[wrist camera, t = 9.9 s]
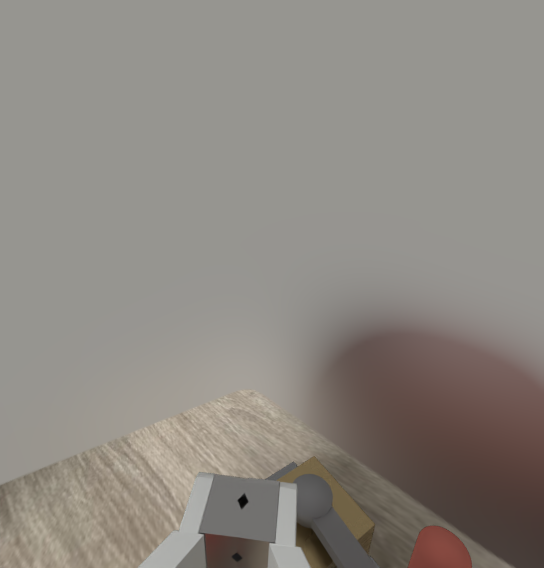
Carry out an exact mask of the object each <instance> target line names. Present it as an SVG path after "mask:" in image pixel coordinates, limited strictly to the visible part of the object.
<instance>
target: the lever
mask: <svg viewBox="0 0 544 568" xmlns="http://www.w3.org/2000/svg"><path fill="white" fill-rule="evenodd" d="M293 483H297V523H299V524H300V525H301V526H303V527H306V528H311V529H313V530H314V532H315V534H316V535H317V537H318V538H319V540H320V541H321V543H322V544H323V546H324V548H325V549H326V551H327V552H328V554H329V555H330V557H331V558H332V560H333V562H334V563H335V565H336V566H337V568H377V567H376V565H375V564H374V563H373V561H372V560H371V558H370V557H369V556H368V554H367V553H366V552H365V550H364V549H363V548H362V546H361V545H360V543H359V542H358V541H357V539H356V538H355V537H354V535H353V534H352V533H351V531H350V530H349V529H348V527H347V526H346V524H345V523H344V522H343V520H342V519H341V518H340V516H339V515H338V514H337V512H336V511H335V509H334V508H333V507H332V501H333V494H332V490H331V488H330V486H329V484H328V483H327V482H326V481H325V480H324V479H323V478H321V477H320V476H317V475H314V474H304V475H301V476H299V477H298V478H296V479H295V480H294V482H293ZM408 568H472V563H471V558H470V555H469V553H468V551H467V549H466V547H465V546H464V544H463V543H462V542H461V541H460V539H459V538H458V537H457V536H455V535H454V534H453V533H452V532H450V531H448V530H447V529H445V528H442V527H439V526H427V527H425V528H423V529H422V530H421V531H420V533H419V535H418V538H417V541H416V544H415V547H414V550H413V553H412V556H411V559H410V562H409V565H408Z"/></svg>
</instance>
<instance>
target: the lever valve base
mask: <svg viewBox="0 0 544 568" xmlns="http://www.w3.org/2000/svg"><path fill="white" fill-rule="evenodd" d="M304 474H314V475H317V476H320V477H321V478H323V479H324V480H325V481H326V482H327V483H328V484H329V486H330V488H331V490H332V494H333V501H332V507H333V508H334V509H335V511H336V512H337V514H338V515H339V516H340V518H341V519H342V520H343V522H344V523H345V524H346V526H347V527H348V529H349V530H350V531H351V533H352V534H353V535H354V537H355V538H356V539H357V541H358V542H359V543H360V545H361V546H362V548H363V549H364V550H365V552H366V553H367V554H368V552H369V548H370V543H371V539H372V535H373V531H374V527H375V524H374V523H373V521H372V520H371V519H370V518H369V517H368V516H367V515H366V514H365V512H364V511H363V510H362V509H361V508H360V507H359V506H358V505H357V504H356V502H355V501H354V500H353V499H352V498H351V497H350V496H349V495H348V493H347V492H346V491H345V490H344V489H343V488H342V487H341V486H340V484H339V483H338V482H337V481H336V480H335V479H334V478H333V477H332V475H331V474H330V473H329V472H328V471H327V470H326V469H325V468H324V466H323V465H322V464H321V463H320V462H319V461H318V460H317V459H316V458H315V456H314V457H312V458H310V459H309V460H307V461H306V462H304V463H303V464H301V465H300V466H297V465H296V464H295V463H294V462H292V463H291V464H289V465H287V466H286V467H284V468H283V469H281V470H279V471H278V472H276V473H275V474H273V475H271V476H270V477H268V478H267V479H265V480H273V481H280V482H287V483H293V482H294V480H295V479H296V478H298V477H299V476H301V475H304ZM279 487H280V485H279ZM296 546H297V547H301V548H302V550H303V552H304V554H305V556H306V559H307V561H308V563H309V565H310V567H311V568H337V566H336V565H335V563H334V562H333V560H332V558H331V557H330V555H329V554H328V552H327V551H326V549H325V548H324V546H323V544H322V543H321V541H320V540H319V538H318V537H317V535H316V534H315V532H314V530H313V529H311V528H306V527H303V526H301V525H300V524H299V523H297V522H296ZM370 558H371V560H372V561H373V563H374V564H375V565H376V567H377V568H380V567H379V566H378V564H377V563H376V562H375V561H374V559H373V558H372V557H371V556H370Z"/></svg>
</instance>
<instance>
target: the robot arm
mask: <svg viewBox="0 0 544 568" xmlns="http://www.w3.org/2000/svg"><path fill="white" fill-rule="evenodd" d="M279 485H280V487H279ZM296 522H297V483H287V482H280V481H273V480H263V479H254V478H242V477H234V476H226V475H218V474H213V473H204V472H199V473H198V475H197V477H196V479H195V482H194V485H193V488H192V491H191V494H190V498H189V501H188V504H187V507H186V510H185V513H184V516H183V519H182V522H181V526H180V529H179V531H177V530H174V531H173V532H172V533H171V534H170V535H169V536H168V537H167V538H166V539H165V540H164V541H163V542H162V543H161V544H160V545H159V546H158V547H157V548H156V549H155V550H154V551H153V552H152V553H151V554H150V555H149V556H148V557H147V558H146V559H145V560H144V561H143V562H142V564H141V565H140V566H139V567H138V568H311V567H310V565H309V563H308V561H307V559H306V556H305V554H304V552H303V550H302V548H301V547H297V546H296Z"/></svg>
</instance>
